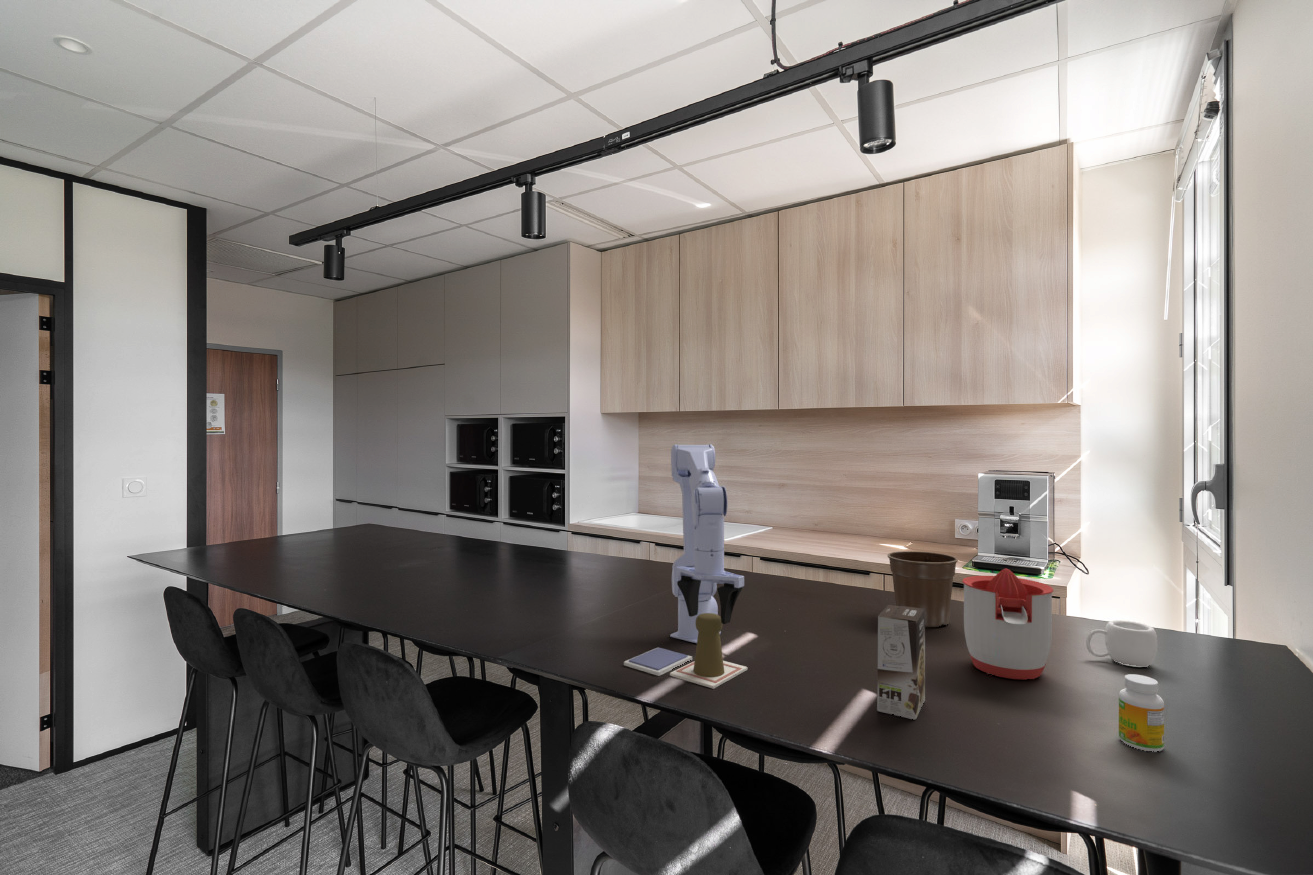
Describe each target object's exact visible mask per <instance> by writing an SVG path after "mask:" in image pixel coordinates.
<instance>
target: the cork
mask: <svg viewBox="0 0 1313 875" xmlns="http://www.w3.org/2000/svg"><path fill="white" fill-rule="evenodd" d="M696 629H697V630H698V639H697V643H696V648H695V655H694V661H695V662H694V661H693V662H694V669H693V672H694V673H695V674H696V675H698V676H702V677H718V676H721V675H723V674H724V673H725V672H724V664H723V661H724V657H723V651H722V650H723V649H722V643H721V634H720V633H719V632H722V630H723V624H722V623H721V615H719V614H718V615H717V614H713V613H703V614H700V615H698V617H697V618H696Z"/></svg>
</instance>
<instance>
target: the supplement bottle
mask: <svg viewBox="0 0 1313 875" xmlns="http://www.w3.org/2000/svg"><path fill="white" fill-rule="evenodd" d="M1123 679H1124V682H1123V683H1124V687H1126V688H1123V689H1121V690H1120V691H1119V692H1118V739H1119V738H1120V739H1121V740H1122V741H1123V742H1125V743H1126V744H1127V745H1126V744H1125V745H1126V746H1128V745H1129V746H1128V747H1130V746H1131V747H1130V748H1132V747H1134V748H1133V749H1135V748H1137V749H1136V750H1138V749H1141V750H1140V751H1142V750H1144V751H1143V752H1146V751H1152V752H1151V753H1158V752H1157V751H1159V752H1161V751H1163V750H1164V748H1165V702H1164V700H1163V698H1162V697H1161V696H1160V695H1158V694H1157V693H1159V682H1158V681H1157V680H1156V679H1155V678H1152V677H1149V676H1146V675H1142V674H1134V673H1133V674H1131V673H1130V674H1125V675H1124V678H1123ZM1120 739H1119V740H1120ZM1123 742H1122V743H1123ZM1153 751H1154V752H1153Z"/></svg>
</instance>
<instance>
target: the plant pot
mask: <svg viewBox="0 0 1313 875" xmlns="http://www.w3.org/2000/svg"><path fill="white" fill-rule="evenodd" d="M887 558H888V559H889V566H890V572H891V574H892V582H893V583H892V584H893V591H894V593H893V594H894V604H895V605H894V606H905V607H914V608H921V609H925V628H937V627H938V628H939V626H940V627H941V626H944V625H946V626H948V625H949V624H950V617H951V605H952V604H951V602H952V593H953V582H954V577H955V575H956V566H957V563H958V562H959V559H958V557H956V556H954V555H949V554H944V553H938V552H933V551H932V552H930V551H915V550H914V551H913V550H910V551H909V550H908V551H905V550H904V551H903V550H900V551H892V552H889V553H888V554H887ZM947 624H948V625H947Z"/></svg>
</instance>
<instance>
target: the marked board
mask: <svg viewBox="0 0 1313 875" xmlns="http://www.w3.org/2000/svg"><path fill="white" fill-rule="evenodd" d="M694 662H695V660H694V661H692V662H690V663H687V664H686V665H685V664H684V666H683V665H682V666H681V667H680V668H679V667H678V669H677V668H676V669H675V670H673V671H671V672H669V676H671V677H673V678H677V679H680V680H684V681H686V682H689V683H693V684H697V685H700V686H703V687H707V688H710V689H713V690H714V689H716V688H717V687H719V686H720V685H723V684H725V683H726V682H728V681H730V680H732V679H733V678H735V677H737V676H739V675H740V674H742V673H744V672H745V671H748V667H747V666H745V665H740V664H737V663H733V662H730V661H726V660H723V664H724V672H725V673H724V674H723V675H721V676H718V677H702V676H698V675H696V674H695V673H694V672H693V669H694Z"/></svg>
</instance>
